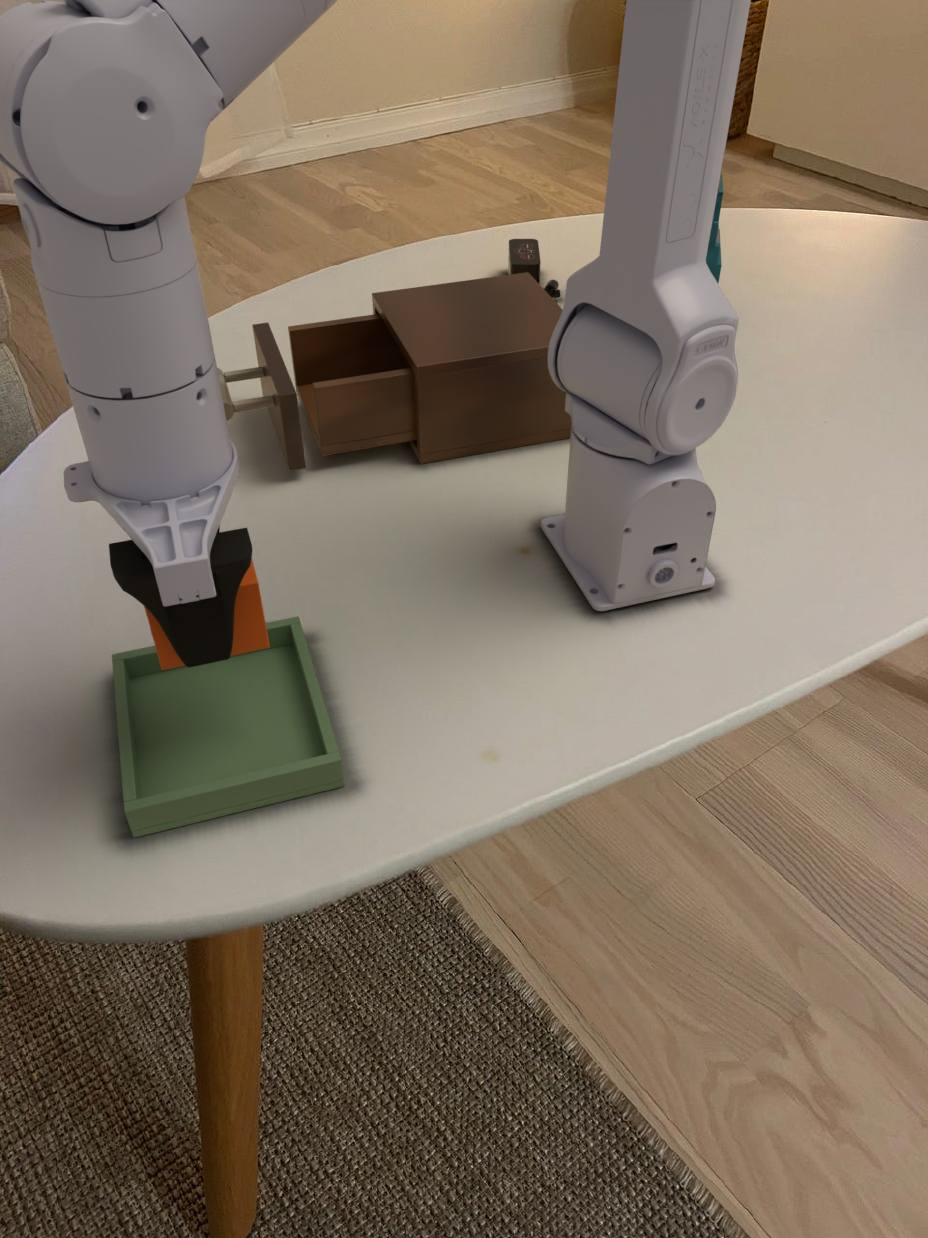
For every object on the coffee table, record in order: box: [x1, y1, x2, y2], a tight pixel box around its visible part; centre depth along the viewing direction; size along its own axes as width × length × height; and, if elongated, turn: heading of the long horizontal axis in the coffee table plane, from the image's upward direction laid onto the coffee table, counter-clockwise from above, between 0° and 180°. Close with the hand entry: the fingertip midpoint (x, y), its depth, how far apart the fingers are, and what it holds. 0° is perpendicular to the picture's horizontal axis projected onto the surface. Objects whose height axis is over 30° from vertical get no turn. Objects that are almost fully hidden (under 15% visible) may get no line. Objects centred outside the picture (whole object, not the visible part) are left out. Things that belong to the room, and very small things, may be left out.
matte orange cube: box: [143, 557, 270, 670], centre depth 47 cm, size 4×5×4 cm
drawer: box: [217, 314, 417, 472], centre depth 73 cm, size 16×11×6 cm
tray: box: [111, 616, 346, 838], centre depth 52 cm, size 11×10×2 cm
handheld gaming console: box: [706, 152, 725, 285], centre depth 86 cm, size 10×4×15 cm, turn 170°
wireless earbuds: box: [507, 238, 561, 299], centre depth 95 cm, size 5×7×3 cm, turn 179°
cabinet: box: [371, 272, 572, 465], centre depth 76 cm, size 13×13×8 cm
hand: (201, 627), depth 48 cm, fingers closed on matte orange cube, 4 cm apart
